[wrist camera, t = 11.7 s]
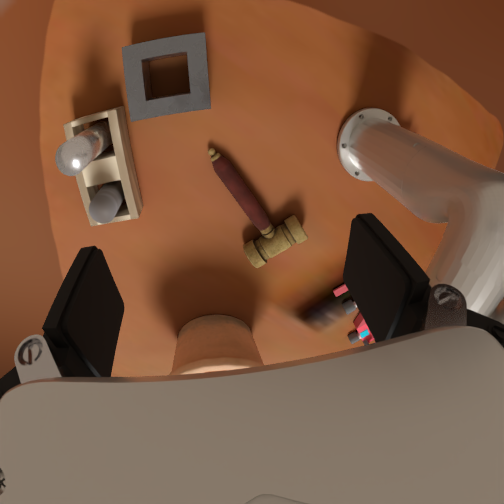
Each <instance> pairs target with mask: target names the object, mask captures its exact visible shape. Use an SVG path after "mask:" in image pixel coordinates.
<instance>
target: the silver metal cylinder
mask: <svg viewBox="0 0 504 504" xmlns="http://www.w3.org/2000/svg"><path fill="white" fill-rule="evenodd" d="M112 143H113V142H112V137H111V131H110V126H109V122H107V121H101V122H98V123H97V124H95V125H93V126H91V127H89V128H88V129H86V130H84V131H83V132H81V133H79V134H77V135H76V136H74V137H73V138H71V139H69V140H68V141H66V142H65V143H63V144H62V145H60V147H59V148H58V150H57V152H56V156H55V160H56V164H57V167H58V169H59V170H60V171H61V172H62V173H63V174H65V175H68V176H74V175H77V174H79V173H80V172H81V171H82V170H83V169H84V168H85V167H87V166H88V165H89V164H90V163H91V162H92V161H93V160H94V159H95V158H96V157H97V156H98V155H99V154H101V153H102V152H103V151H104V150H105V149H106V148H107V147H108V146H110V145H111V144H112Z"/></svg>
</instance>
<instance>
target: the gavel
mask: <svg viewBox="0 0 504 504" xmlns="http://www.w3.org/2000/svg"><path fill="white" fill-rule="evenodd" d="M208 153H209V155H211V161H212V164H213V167H214V170H215V172H216V173H217V175H218V176H219V178H220V179H221V180H222V182H223V183H224V184H225V186H226V187H227V188H228V190H229V191H230V193H231V194H232V195H233V197H234V198H235V199H236V201H237V202H238V204H239V205H240V206H241V208H242V209H243V210H244V212H245V213H246V215H247V216H248V217H249V219H250V220H251V221H252V223H253V224H254V225H255V226H256V227H257V228H258V229H259V230H260V232H261V233H262V235H263V236H261V237H259V239H258V240H256V241H255V240H254V239H253V240H251V241H249V242H248V243H246V244H244V246H243V249H244V252H245V254H246V256H247V258H248V259H249V261H250V262H251V264H252V265H253V266H254V267H256V268H259V267H261V266H262V265H264V264H266V263H267V259H269V258H272V257H274V256H276V255H277V254H279V253H281V252H283V251H284V250H286V249H288V248H289V247H291V246H292V245H293V244H294V243H296V242H297V243H298V244H300V243H302V242H303V241H305V240H307V239H308V236H307V235H306V233H305V231H304V230H303V228H302V226H301V224H300V223H299V221H298V220H297V218H296V216H295V215H292V216H291V217H289V218H287V219H286V220H284V221H285V223H284V224H283V225H281V226H280V225H279V226H278V227H276V228H274V227H273V226H272V224H271V223H270V221H269V219H268V216H267V215H266V213H265V212H264V210H263V209H262V207H261V206H260V205H259V203H258V202H257V200H256V199H255V197H254V196H253V194H252V193H251V191H250V190H249V189H248V187H247V186H246V184H245V183H244V181H243V180H242V178H241V177H240V176H239V174H238V173H237V171H236V170H235V169H234V167H233V166H232V164H231V163H230V161H229V160H227V159H226V158H224V157H223V156H222V155H220V153H216V152H215V150H214V149H213V148H210V149H209V150H208Z"/></svg>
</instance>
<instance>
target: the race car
mask: <svg viewBox="0 0 504 504" xmlns="http://www.w3.org/2000/svg"><path fill="white" fill-rule="evenodd" d="M346 291H348V288H347V287H346V285H345V284H343V285H341V286H340V287H338V288H336V289H334V290H333V292H334V293H335V295H336V297H337V296H339V295H341V294H342V293H344V292H346ZM342 305H343V307H344V309H345V311H346V313H347V314H349V313H351V312H352V311H354V310H356V308H355V307H357V305H356V303H355V301H354V302H352V300H351V299H350V300H348V301H346V302H345V303H343V304H342ZM353 323H354V325H355V327H356V329H357V331H358V333H356V331H355V332H353V333H351V334H349V335H348V338H349V340H350V342H351V344H353V343H355V342H357V341H359V340H360V339H362V341H363V343H364V345H369V342H371V341H373V340H374V338H373V336H372V334H371V332H370V330H369V328H368V326H367V324H366V322H365V320H364V318H363V316H362V315H361V313H359V315H358V316H357V318H356V319H355V321H354V322H353ZM375 343H376V342H375Z"/></svg>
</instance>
